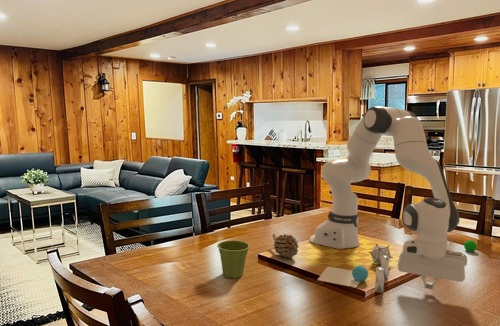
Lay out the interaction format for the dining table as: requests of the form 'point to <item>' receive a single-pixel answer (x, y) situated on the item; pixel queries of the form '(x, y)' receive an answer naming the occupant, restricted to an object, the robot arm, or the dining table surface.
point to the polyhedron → (470, 246)
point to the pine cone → (285, 245)
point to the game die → (379, 253)
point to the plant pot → (233, 257)
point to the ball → (360, 273)
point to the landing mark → (338, 277)
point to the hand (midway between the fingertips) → (429, 288)
